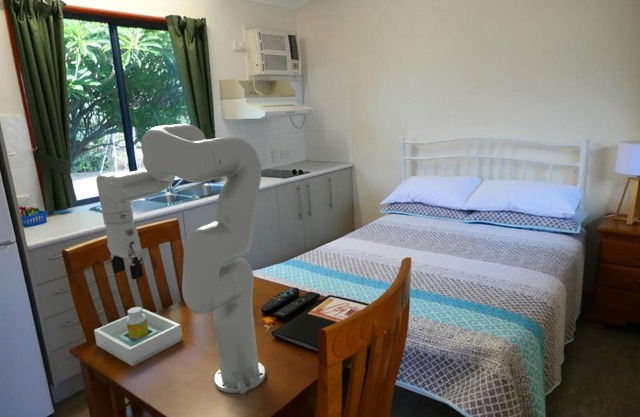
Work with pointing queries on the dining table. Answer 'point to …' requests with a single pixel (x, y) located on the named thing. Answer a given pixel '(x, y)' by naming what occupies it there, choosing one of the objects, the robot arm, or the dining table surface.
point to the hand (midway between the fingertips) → (128, 274)
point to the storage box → (134, 352)
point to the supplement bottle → (137, 323)
